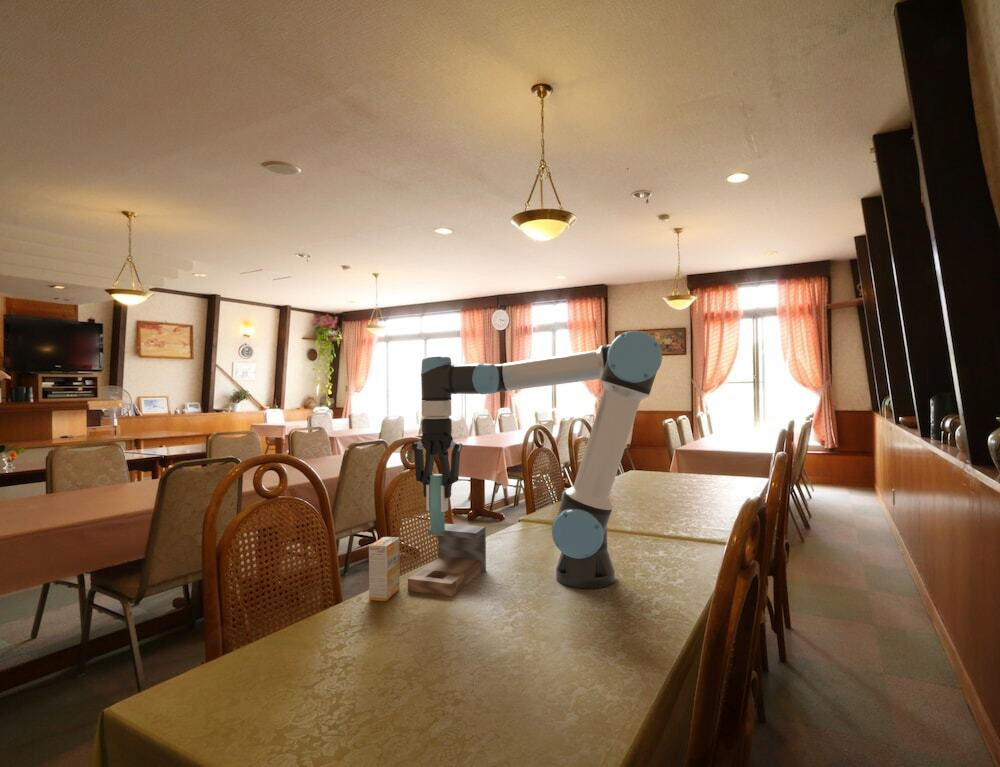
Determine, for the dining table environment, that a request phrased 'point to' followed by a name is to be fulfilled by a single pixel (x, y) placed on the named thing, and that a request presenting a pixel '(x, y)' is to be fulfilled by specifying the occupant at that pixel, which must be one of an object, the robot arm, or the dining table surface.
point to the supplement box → (383, 568)
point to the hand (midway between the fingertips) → (437, 510)
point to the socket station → (452, 561)
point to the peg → (436, 504)
